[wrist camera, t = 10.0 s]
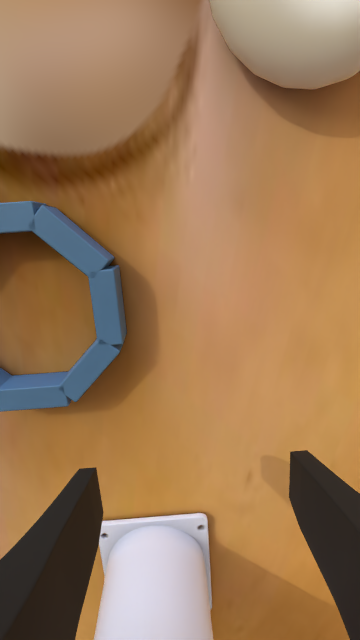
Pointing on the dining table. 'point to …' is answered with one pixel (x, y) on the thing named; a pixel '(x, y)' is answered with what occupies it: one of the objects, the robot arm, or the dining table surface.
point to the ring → (106, 301)
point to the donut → (293, 39)
